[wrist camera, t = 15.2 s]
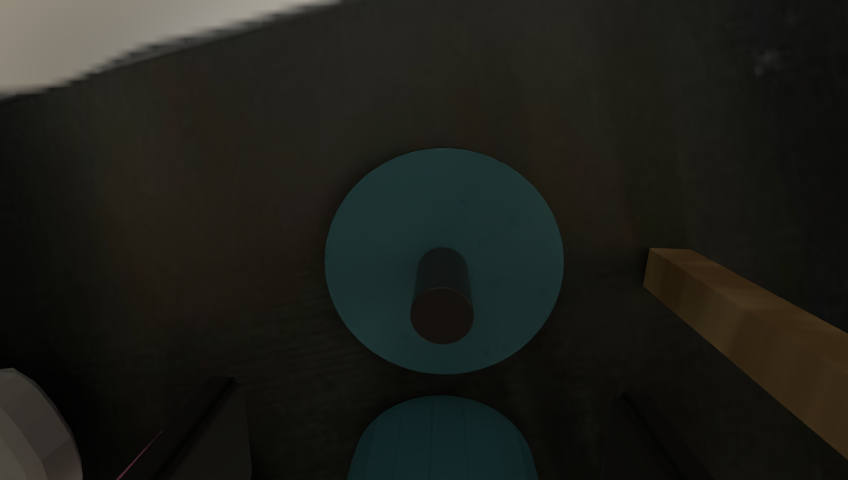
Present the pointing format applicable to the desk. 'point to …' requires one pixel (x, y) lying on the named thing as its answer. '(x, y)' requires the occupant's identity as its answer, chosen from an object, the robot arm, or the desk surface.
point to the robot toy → (33, 433)
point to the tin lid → (444, 261)
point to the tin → (442, 443)
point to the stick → (760, 337)
